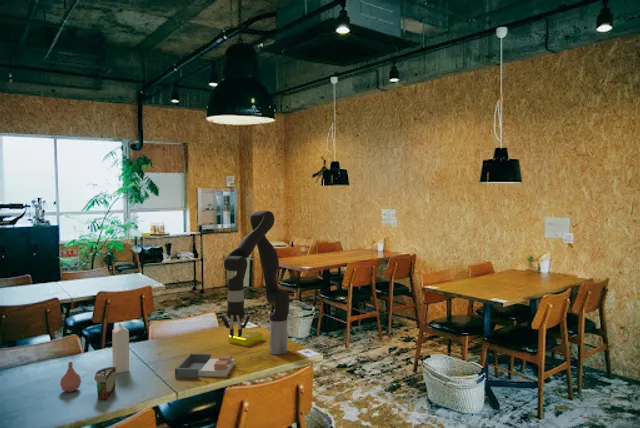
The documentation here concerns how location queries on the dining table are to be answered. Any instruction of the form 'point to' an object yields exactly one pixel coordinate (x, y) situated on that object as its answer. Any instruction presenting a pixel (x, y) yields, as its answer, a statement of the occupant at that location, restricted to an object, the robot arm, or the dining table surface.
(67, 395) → the dining table surface
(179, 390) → the dining table surface
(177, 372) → the tray
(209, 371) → the board
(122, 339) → the milk
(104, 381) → the food container
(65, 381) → the pink bulb-shaped piece
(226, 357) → the tile inner
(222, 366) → the tile outer
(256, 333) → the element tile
